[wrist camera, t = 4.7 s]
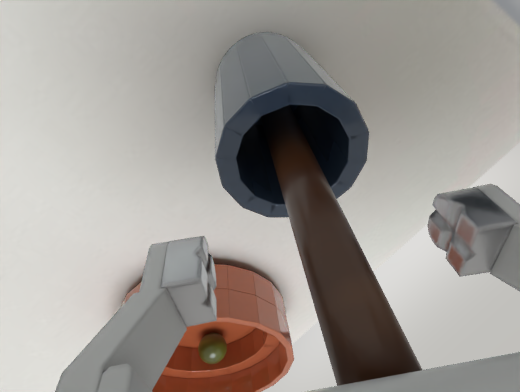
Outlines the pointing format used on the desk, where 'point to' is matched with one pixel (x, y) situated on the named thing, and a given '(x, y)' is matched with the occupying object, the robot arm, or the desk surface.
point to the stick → (335, 264)
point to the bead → (212, 348)
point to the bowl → (234, 339)
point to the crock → (271, 99)
